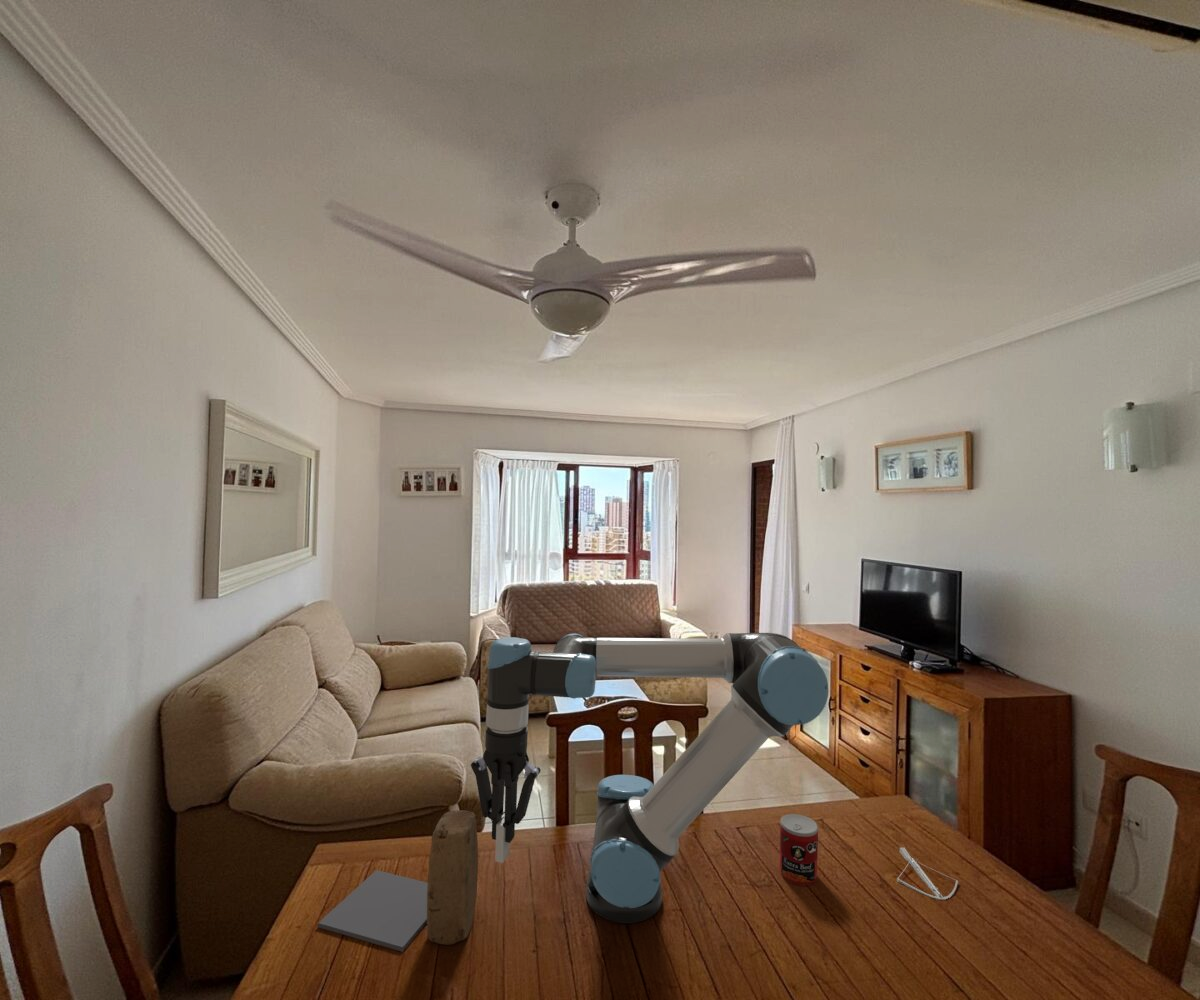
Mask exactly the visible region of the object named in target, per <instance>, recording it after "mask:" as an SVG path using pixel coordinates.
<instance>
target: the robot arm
mask: <svg viewBox="0 0 1200 1000" xmlns="http://www.w3.org/2000/svg"><path fill="white" fill-rule="evenodd" d="M532 650H533V649H532V647H531V641H529V640H528V639H526V638H520V637H514V636H513V637H502V638H498V639H495V640H494V641H493V642H492V643H490V645H489V653H488V664H487V667H486V668H487V693H486V695H487V697H486V698H487V699H486V714H485V724H486V728H485V741H484V746H485V747H484V748H485V751H483V754H482V756H478V757H477V758H476V759H475V760H473V761H472V762H471V764H470V767H471V769H472V772H473V774H474V776H475V780H476V787H477V792H478V798H479V804H480V811H481V814H482V817H483V818H484V819H485V818H488V819H490V821H491V839H492V840H495V852H494V853H495V854H494V855H495V857H494V861H495V862H497V863H500V864H503V863H504V862H505V860H506V859H507V858H508V857H509V855H510V845H511V844H510V843H512V841H513V840H514V838H515V832H516V831H515V827H516V825H519V824H520V823H521V821H523V819H524V818H525V817H526V815H527V810H528V807H529V803H530V799H531V796H532V791H533V789H534V785H535V781H536V779H537V777H538V776H539V775H540V773H541V768H540V767H539V766H533V765H532V764H531V762H530V758H529V756H528V753H527V750H528V749H527V748H528V734H529V728H528V726H527V725H528V723H529V704H530V703H529V702H530V700H529V699H530V696H545V697H555V698H556V697H557V698H559V697H560V698H570V699H574V700H575V699H581V698H582V699H583V698H584V699H585V698H591V697H592V696H593V695H594V694H595V689H596V683H597V682H596V680H597V677H625V678H626V677H631V678H633V677H635V678H636V677H637V678H639V677H640V678H643V677H644V678H647V677H648V678H701V679H702V678H703V679H704V678H709V679H710V678H712V679H713V678H714V679H720V678H721V679H724V680H725V681H726V682H727V683H728V684H731V686H730V691H731V692H730V693H731V695H730V696H731V697H730V698H731V699H730V701H729V702H728V703H726V704H725V706H724V707H723V708H722V709H721V710H720V711H719V712H718V714H717V715H716V716H715V717H714V718H713V719H712V720H711V721H710V722H709V723H708V725H707V726H706V727H705V728H704V729H703V730H702V731H701V733H700V734H699V735H698V736H697V737H696V738H695V739H694V740H693V741H692V742H691V744H690V745H689V746H687V748H686V749H685V750H684V751H683V752H682V753H681V754H680V756H679V757H678V758H677V759H676V760H675V761H674V762H673V763H672V764H671V766H670V767H669V768H668V769H667V770H666V771H665V773H664V774H663V775H661V777H660V778H659V779H658V780H657V781H656V782H655V784H654V783H653V782H652V781H650V780H649V779H647V778H645V777H642V776H638V775H631V774H614V775H609V776H606V777H605V778H602V779H601V780H600V781H599V783H598V785H597V793H596V797H597V801H596V802H597V803H596V805H597V806H596V807H597V810H596V819H595V820H596V821H595V828H594V836H593V843H592V850H591V854H590V862H589V863H590V872H589V874H588V877H587V881H586V887H585V888H586V890H585V891H586V894H585V895H586V896H585V897H586V901H587V904H588V906H589V908H591V910H592V911H593V912H594V913H595V914H596V915H598V916H600V917H601V918H603V919H605V920H608V921H611V922H614V923H620V924H635V923H639V922H640V923H641V922H643V921H645V920H648V919H649V918H651V917H653V916H654V915H656V913H658V912H659V909H660V908H661V906H662V900H663V898H662V896H663V888H662V883H661V879H662V878H661V872H662V871H663V870H664V869H665V868H666V867H667V866H668V864H669V863H670V862H671V861H672V860H673V859H674V858H675V857H676V855H677V854H678V853H679V837H680V836H681V835H682V834H683V833H684V832H685V831H686V829H687V828H688V827H689V826H690V825H691V824H692V823H693V822H694V821H695V819H696V818H698V816H699V815H700V814H701V813H702V812H703V810H705V808H706V807H708V805H709V804H710V803H711V802H712V801H713V800H714V799H715V798H716V796H717V795H718V794H720V792H721V791H722V790H723V788H725V787H726V786H727V784H729V782H730V781H731V780H732V779H733V778H734V777H735V775H737V773H739V771H740V770H741V769H742V768H743V766H744V765H746V764H747V762H749V760H750V759H751V758H752V757H753V756H754V755H755V754H756V752H757V751H758V750H759V749H760V748H761V747H762V746H763V745H764V743H766V742H767V740H768V739H769V738H771V737H772V738H773V737H784V736H785V735H786V734H788V733H789V731H790V730H791V729H792V728H793V727H794V726H798V725H805V724H808V723H810V722H812V721H813V720H815V719H816V718H818V717H819V716H820V714H821V713H822V712H823V710H824V709H825V707H826V704H827V703H828V697H829V683H828V678H827V675H826V672H825V671H824V669H823V668H822V666H821V665H820V664H819V662H818V661H817V660H816V658H814V657H813V655H812V654H810V653H809V652H808V651H807V650H805V649H804V648H802V647H801V646H800V645H798V644H797V643H796V642H795V641H794V640H793V639H791V638H790V637H788V636H786V635H784V634H783V635H782V634H780V633H774V632H748V633H747V632H745V633H743V632H740V633H737V632H736V633H735V632H733V633H731V632H730V633H725V634H724V635H723V636H722V637H721V638H711V637H709V638H707V637H705V638H704V637H701V638H699V637H697V638H696V637H695V638H694V637H693V638H690V637H687V638H683V637H682V638H679V637H677V638H676V637H674V638H673V637H670V638H669V637H668V638H665V637H663V638H662V637H585V636H584V635H581V634H579V633H569V634H568V633H567V634H566V635H564V636H563V637H562V638H560V640H558V641H557V643H556V644H555V646H554V648H553V651H552V652H541V651H532ZM523 771H524V774H523V775H524V776H523V778H524V781H523V782H522V783H523V784H522V788H521V789H520V790H521V791H520V795H519V799H518V781H519V778H520V775H521V773H522V772H523ZM489 773H490V774H491V778H490V775H489ZM491 786H492V787H491ZM517 799H518V800H517ZM503 815H504V816H503Z"/></svg>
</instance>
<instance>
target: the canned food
mask: <svg viewBox="0 0 1200 1000" xmlns="http://www.w3.org/2000/svg"><path fill="white" fill-rule="evenodd" d="M818 827H819V826H818V823H817V822H816V821H815V820H814V819H812V818H811V817H808V816H805V815H803V814H800V813H799V814H796V813H788V814H785V815H783V816H781V818H780V828H779V831H780V832H779V833H780V834H779V871H780V874H781V876H782V877H783V878H784V879H785V880H786V881H788V882H789V883H792V884H794V885H798V886H811V885H812V884H814V883H815V882H816V879H817V877H818V852H819V851H818V848H819V847H818V846H819V843H818V842H819V828H818Z"/></svg>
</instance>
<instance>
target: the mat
mask: <svg viewBox="0 0 1200 1000" xmlns="http://www.w3.org/2000/svg"><path fill="white" fill-rule="evenodd" d="M427 890H428V881H427V882H426V881H422V880H418V879H415V878H410V877H407V876H406V877H405V876H401V875H398V874H395V873H394V874H393V873H390V872H386V871H381V870H378V869H376V870H375V871H374V872H372V874H370V875H369V876H368V877H367V878H366V879H364V881H362V882H361V883H360V884H359V885H358V886H357V887H356V888H355V889H354V890H352V892H350V893H349V894H348V895H347V896H346V897H345V898H344V899H342V900H341V901H340V902H339V903H338V905H336V906H335V907H334V908H333V909H332V910H331V911H330V912H328V913H327V914H326V915H325V916H324V917H323V918H322V919H321V920H320V921H319V922H318V924H317V928H319V929H322V930H326V931H330V932H333V933H336V934H339V935H343V936H346V937H349V938H354V939H357V940H360V941H364V942H367V943H370V944H373V945H374V944H375V945H378V946H380V947H381V946H382V947H384V948H389V949H391V950H395V951H399V952H401V953H403V952H404V951H405V949H407V948H408V946H410V944H411V943H412V942H413V940H414V939H415V938H416V937H417V935H418V934H419V933H420V932H421V931H422V930H423V928H424V927H425V926H427Z"/></svg>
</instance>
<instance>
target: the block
mask: <svg viewBox="0 0 1200 1000" xmlns="http://www.w3.org/2000/svg"><path fill="white" fill-rule="evenodd" d="M476 819H477V818H476V815H475V813H474V812H472V811H469V810H466V809H465V810H462V809H459V810H451V811H447V812H445V813H443V815H442V816H441V817H440V819H439V820H438V822H437V824H436V826H435V829H434V830H433V832H432V836H431V846H430V852H429V857H428V858H429V859H428V873H427V883H428V890H427V923H426V933H427V938H428V939H429V941H430V942H433V943H437V944H439V945H449V946H450V945H454V944H455V943H458V942H460V941H464V940H465V939H466V938H467V937H468V936H469V935H470V931H471V929H472V926H473V922H474V917H475V916H474V915H475V910H476V909H475V908H476V904H477V903H476V902H477V891H478V876H479V875H478V874H479V871H478V869H479V868H478V867H479V844H478V843H479V841H478V831H477V820H476Z"/></svg>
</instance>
